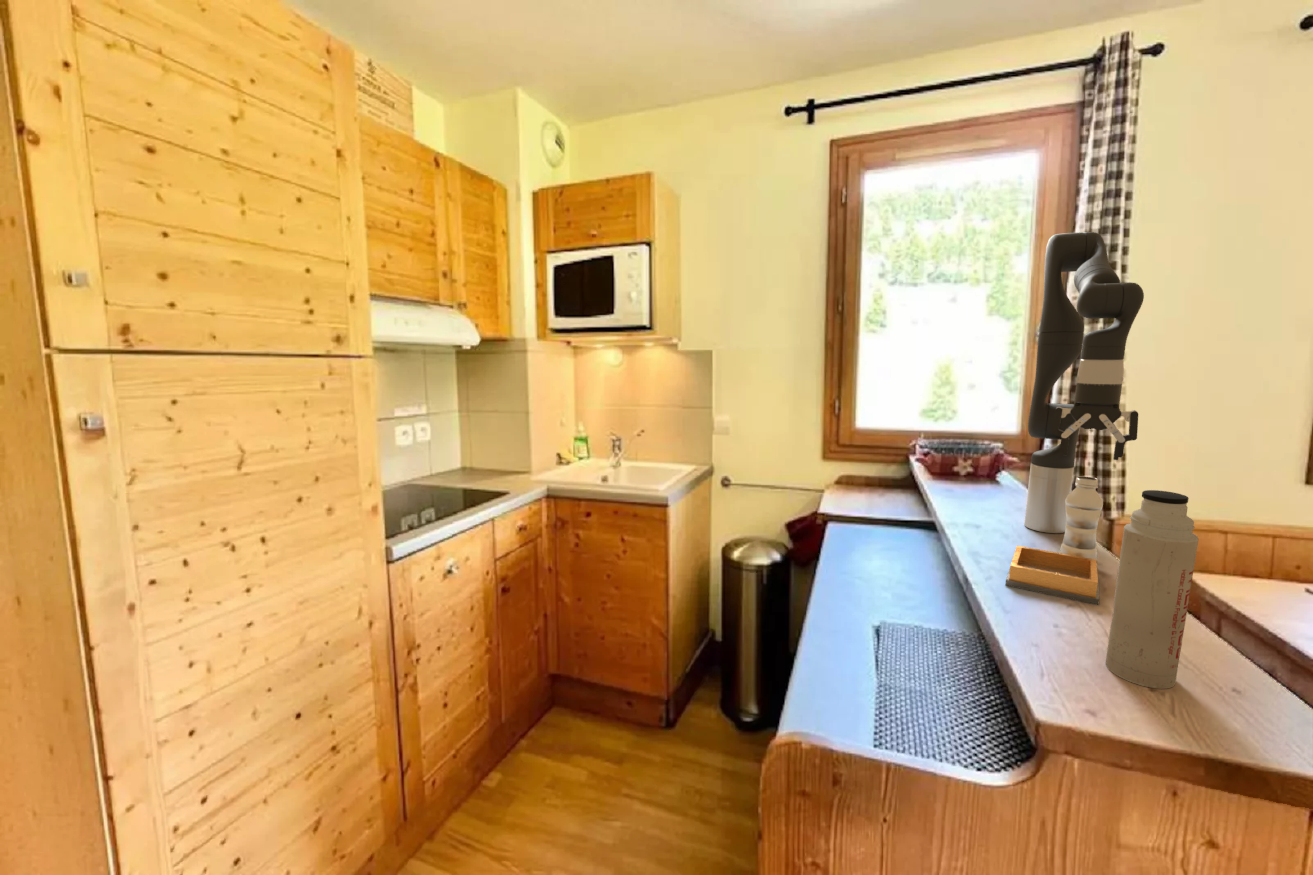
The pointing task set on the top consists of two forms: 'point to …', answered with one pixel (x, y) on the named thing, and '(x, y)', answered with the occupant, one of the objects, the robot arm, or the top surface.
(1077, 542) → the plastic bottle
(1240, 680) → the top surface
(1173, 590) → the thermos bottle
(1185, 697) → the top surface
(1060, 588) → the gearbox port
